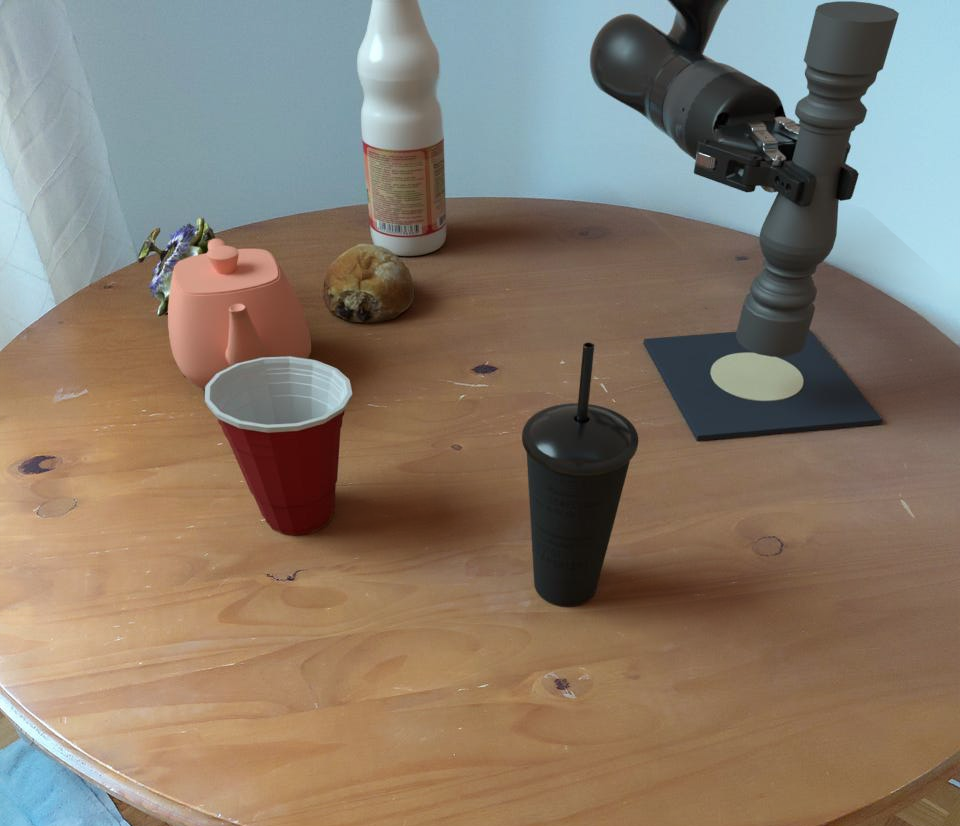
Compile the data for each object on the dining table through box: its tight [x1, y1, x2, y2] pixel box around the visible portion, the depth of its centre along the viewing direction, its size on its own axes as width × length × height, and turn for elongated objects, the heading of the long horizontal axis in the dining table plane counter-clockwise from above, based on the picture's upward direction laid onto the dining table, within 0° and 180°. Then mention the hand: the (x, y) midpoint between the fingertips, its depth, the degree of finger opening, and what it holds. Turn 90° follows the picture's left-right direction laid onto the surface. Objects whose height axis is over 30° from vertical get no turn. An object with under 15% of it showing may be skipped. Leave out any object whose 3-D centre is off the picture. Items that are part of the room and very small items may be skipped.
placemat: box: [643, 329, 884, 442], centre depth 88 cm, size 18×18×1 cm
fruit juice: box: [356, 0, 447, 257], centre depth 101 cm, size 9×9×28 cm
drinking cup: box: [521, 341, 639, 607], centre depth 61 cm, size 8×8×20 cm
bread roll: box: [322, 243, 415, 324], centre depth 98 cm, size 10×10×8 cm
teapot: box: [167, 238, 312, 390], centre depth 85 cm, size 13×20×12 cm, turn 19°
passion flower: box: [137, 217, 217, 317], centre depth 96 cm, size 11×11×12 cm
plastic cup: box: [204, 357, 353, 536], centre depth 70 cm, size 11×11×12 cm
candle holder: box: [736, 0, 900, 357], centre depth 72 cm, size 6×6×25 cm
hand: (830, 190), depth 69 cm, fingers closed on candle holder, 3 cm apart
